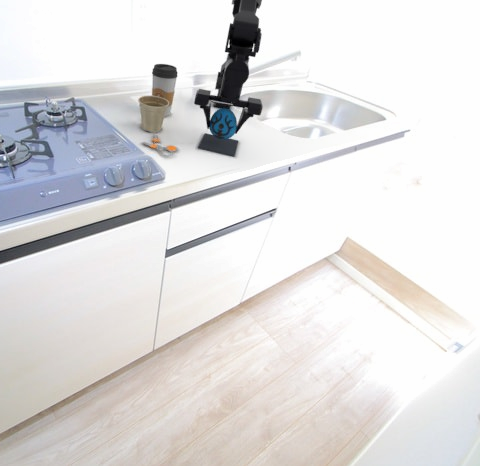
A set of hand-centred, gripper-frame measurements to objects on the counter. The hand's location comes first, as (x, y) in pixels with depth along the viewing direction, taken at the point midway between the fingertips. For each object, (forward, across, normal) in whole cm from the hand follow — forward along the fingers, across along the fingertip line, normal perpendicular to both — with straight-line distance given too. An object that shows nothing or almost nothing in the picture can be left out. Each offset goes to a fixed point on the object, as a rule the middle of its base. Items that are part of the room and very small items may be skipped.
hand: (221, 130), depth 98 cm
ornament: (+3, 0, 0) cm, 3 cm away
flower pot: (+5, +22, -3) cm, 22 cm away
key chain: (+4, +17, +8) cm, 19 cm away
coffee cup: (+5, +21, -17) cm, 28 cm away
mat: (+4, 0, 0) cm, 5 cm away
